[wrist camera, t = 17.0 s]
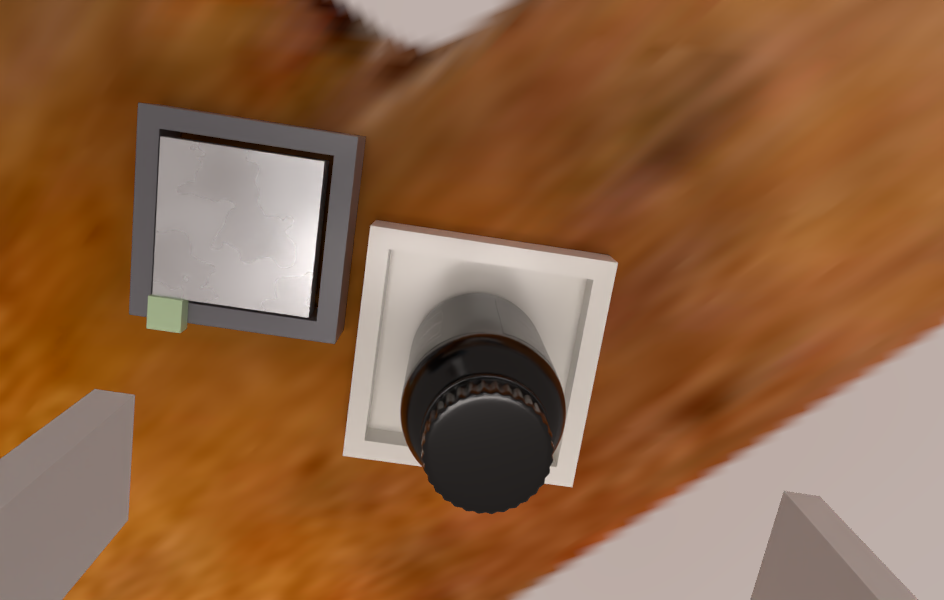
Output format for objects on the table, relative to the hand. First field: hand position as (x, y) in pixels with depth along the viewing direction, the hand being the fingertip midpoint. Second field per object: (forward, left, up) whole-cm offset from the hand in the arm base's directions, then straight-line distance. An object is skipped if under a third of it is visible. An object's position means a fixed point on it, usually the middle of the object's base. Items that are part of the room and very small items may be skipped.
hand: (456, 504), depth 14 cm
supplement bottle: (+1, -4, -22) cm, 23 cm away
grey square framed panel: (-11, +1, -23) cm, 25 cm away
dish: (+1, -4, -23) cm, 23 cm away
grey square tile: (-11, +1, -21) cm, 24 cm away
